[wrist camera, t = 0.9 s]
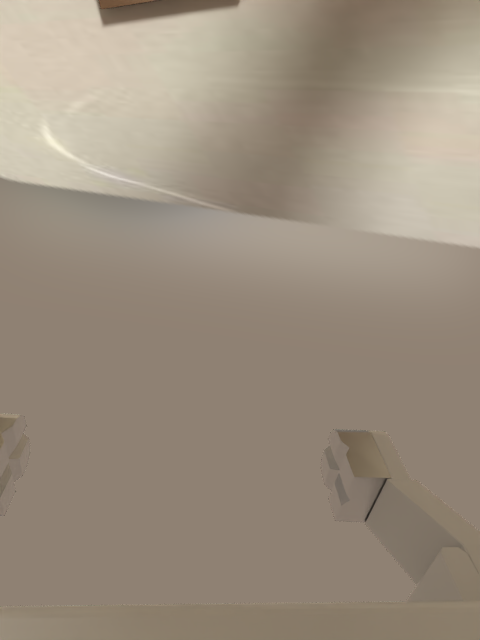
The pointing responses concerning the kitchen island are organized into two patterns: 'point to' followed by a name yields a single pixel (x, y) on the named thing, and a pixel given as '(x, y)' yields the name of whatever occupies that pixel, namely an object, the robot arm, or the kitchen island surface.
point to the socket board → (120, 3)
